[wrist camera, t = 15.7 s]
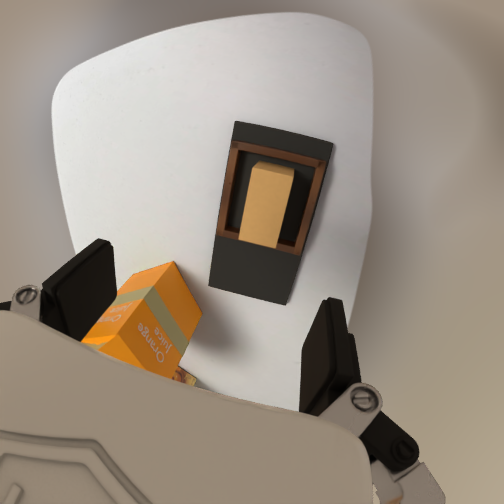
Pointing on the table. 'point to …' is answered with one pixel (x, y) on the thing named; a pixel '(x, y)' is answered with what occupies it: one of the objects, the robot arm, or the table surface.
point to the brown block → (266, 203)
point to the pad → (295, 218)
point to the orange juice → (148, 321)
